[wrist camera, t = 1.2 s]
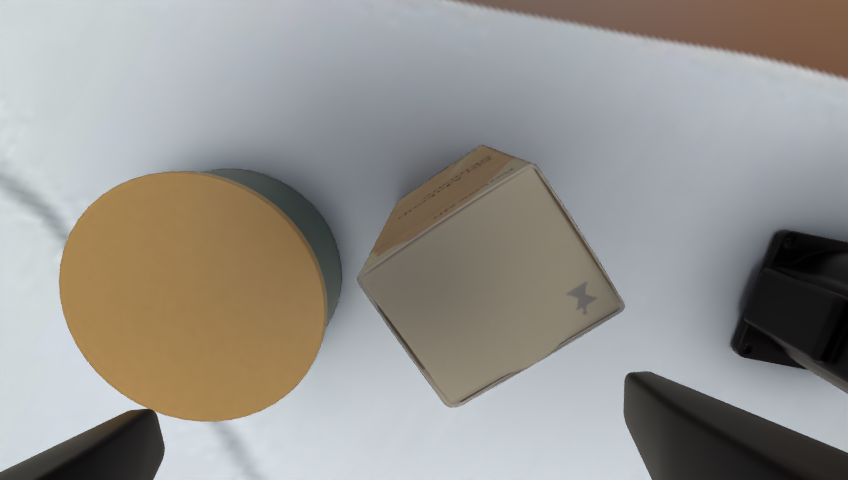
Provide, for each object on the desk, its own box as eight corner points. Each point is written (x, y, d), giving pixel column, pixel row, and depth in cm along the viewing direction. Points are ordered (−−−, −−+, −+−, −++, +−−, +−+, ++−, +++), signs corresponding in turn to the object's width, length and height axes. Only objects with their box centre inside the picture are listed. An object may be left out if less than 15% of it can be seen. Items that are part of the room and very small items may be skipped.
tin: (361, 188, 21) (344, 202, 16) (329, 383, 23) (306, 441, 19) (139, 143, 20) (59, 145, 16) (129, 347, 23) (57, 397, 18)
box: (483, 142, 20) (548, 149, 9) (532, 219, 21) (643, 308, 10) (389, 205, 21) (348, 281, 10) (439, 277, 22) (451, 419, 11)
